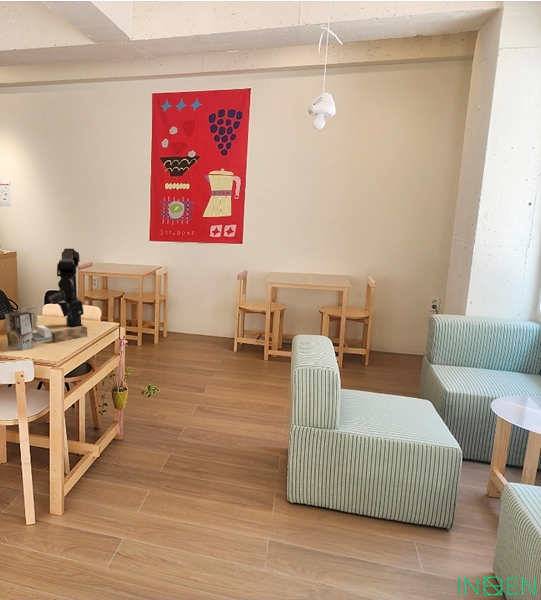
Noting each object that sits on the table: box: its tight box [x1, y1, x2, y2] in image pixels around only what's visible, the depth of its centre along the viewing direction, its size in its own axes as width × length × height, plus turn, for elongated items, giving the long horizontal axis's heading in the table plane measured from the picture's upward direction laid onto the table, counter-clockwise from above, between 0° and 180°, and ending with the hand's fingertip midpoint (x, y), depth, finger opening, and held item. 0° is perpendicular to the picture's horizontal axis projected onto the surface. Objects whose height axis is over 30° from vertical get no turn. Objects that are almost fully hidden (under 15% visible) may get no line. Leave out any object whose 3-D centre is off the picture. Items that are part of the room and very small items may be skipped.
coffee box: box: [4, 310, 35, 351], centre depth 201 cm, size 9×6×16 cm
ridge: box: [33, 324, 55, 343], centre depth 219 cm, size 12×14×4 cm
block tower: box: [19, 306, 38, 332], centre depth 235 cm, size 8×8×29 cm
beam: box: [51, 325, 88, 344], centre depth 217 cm, size 16×4×5 cm, turn 140°
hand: (69, 318), depth 216 cm, fingers open, 9 cm apart
